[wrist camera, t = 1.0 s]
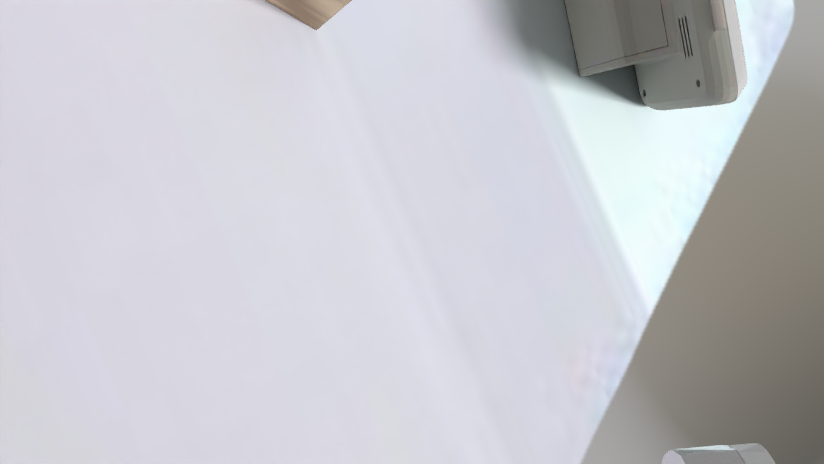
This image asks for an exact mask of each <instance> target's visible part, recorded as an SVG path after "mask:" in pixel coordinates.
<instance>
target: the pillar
mask: <svg viewBox="0 0 824 464" xmlns="http://www.w3.org/2000/svg"><path fill="white" fill-rule="evenodd" d="M266 1H268V2H269V3H271V4H273V5H274V6H276V7H278V8H280V9H281V10H283V11H285V12H286V13H288V14H290V15H292V16H293V17H295V18H297V19H298V20H300V21H302V22H303V23H305V24H307V25H309V26H310V27H312V28H314V29H315V30H317V29H318V28H320V27H321V26H322V25H323V24H324V23H325V22H327V21H328V20H329V19H330V18H331V17H333V16H334V15H335V14H336V13H337V12H338V11H340V10H341V9H342V8H343V7H344V6H345V5H347V4H348V3H349V2H350V1H351V0H266Z"/></svg>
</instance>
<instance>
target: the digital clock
mask: <svg viewBox="0 0 824 464" xmlns="http://www.w3.org/2000/svg"><path fill="white" fill-rule="evenodd" d="M565 5H566V10H567V15H568V20H569V25H570V30H571V35H572V40H573V44H574V49H575V54H576V59H577V64H578V69H579V74H580V77H584V76H588V75H592V74H597V73H601V72H605V71H609V70H613V69H618V68H622V67H626V66H630V65H634V66H635V71H636V76H637V81H638V86H639V91H640V95H641V98H642V101H643V102H644V103H645V104H646V105H647V106H649V107H651V108H653V109H656V110H672V109H682V108H692V107H702V106H712V105H720V104H726V103H731V102H733V101H735V100H736V99H737V98H738V96H739V95H740V93H741V92H742V90H743V89H744V87H745V86H746V84H747V70H746V63H745V56H744V50H743V44H742V38H741V32H740V26H739V20H738V14H737V8H736V2H735V0H565Z"/></svg>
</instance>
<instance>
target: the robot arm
mask: <svg viewBox="0 0 824 464" xmlns="http://www.w3.org/2000/svg"><path fill="white" fill-rule="evenodd" d="M661 464H776V463H775V462H774V461H773V459H772V458H771V456H770V455H769V453H768V452H767V451H766V449H765V448H763V447H762V446H761V445H760V444H753V443H751V444H741V445H732V446H726V445H717V446H706V447H695V448H683V449H672V450H670V451H669V452H667V453H666V454H665V456H664V458H663V461H662V463H661Z"/></svg>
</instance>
